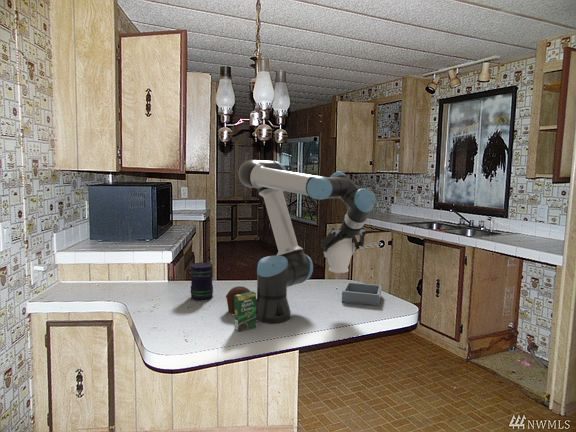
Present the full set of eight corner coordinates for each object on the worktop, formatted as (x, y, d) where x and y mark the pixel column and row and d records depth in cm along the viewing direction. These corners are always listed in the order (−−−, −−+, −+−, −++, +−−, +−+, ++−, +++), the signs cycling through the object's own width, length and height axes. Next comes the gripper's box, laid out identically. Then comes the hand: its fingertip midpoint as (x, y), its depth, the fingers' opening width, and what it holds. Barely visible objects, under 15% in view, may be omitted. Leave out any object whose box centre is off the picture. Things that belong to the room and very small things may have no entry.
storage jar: (200, 302, 177) (200, 268, 175) (185, 297, 183) (185, 265, 181) (217, 297, 185) (217, 264, 183) (203, 292, 191) (203, 261, 189)
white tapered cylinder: (352, 274, 166) (354, 237, 164) (327, 273, 166) (328, 237, 164) (349, 268, 176) (350, 233, 175) (325, 267, 176) (326, 233, 175)
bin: (341, 302, 182) (342, 291, 181) (347, 292, 197) (347, 282, 197) (378, 306, 177) (379, 295, 177) (381, 295, 193) (381, 285, 192)
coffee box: (237, 332, 146) (237, 296, 144) (233, 329, 148) (233, 294, 146) (256, 327, 151) (257, 292, 149) (252, 325, 153) (252, 290, 151)
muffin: (223, 308, 171) (223, 284, 169) (248, 305, 175) (249, 282, 173) (229, 318, 160) (229, 293, 158) (257, 315, 164) (257, 290, 162)
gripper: (326, 230, 150) (313, 262, 167) (384, 229, 156) (365, 261, 173) (322, 214, 155) (309, 247, 172) (378, 214, 160) (360, 246, 177)
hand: (337, 254), depth 172 cm, fingers closed on white tapered cylinder, 10 cm apart
